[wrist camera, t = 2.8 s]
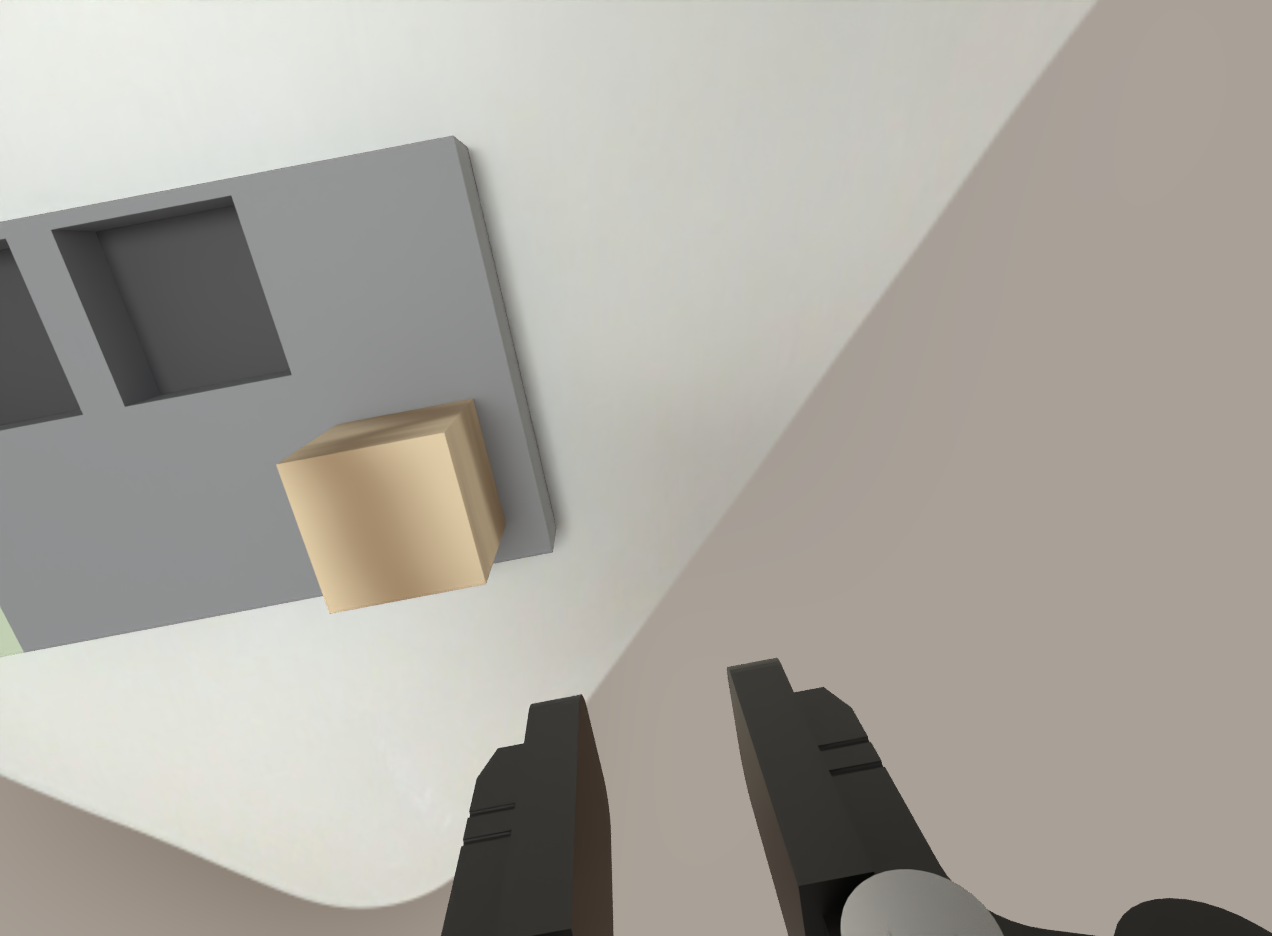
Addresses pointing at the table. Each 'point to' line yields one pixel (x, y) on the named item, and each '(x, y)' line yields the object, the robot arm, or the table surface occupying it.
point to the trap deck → (233, 380)
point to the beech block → (397, 505)
